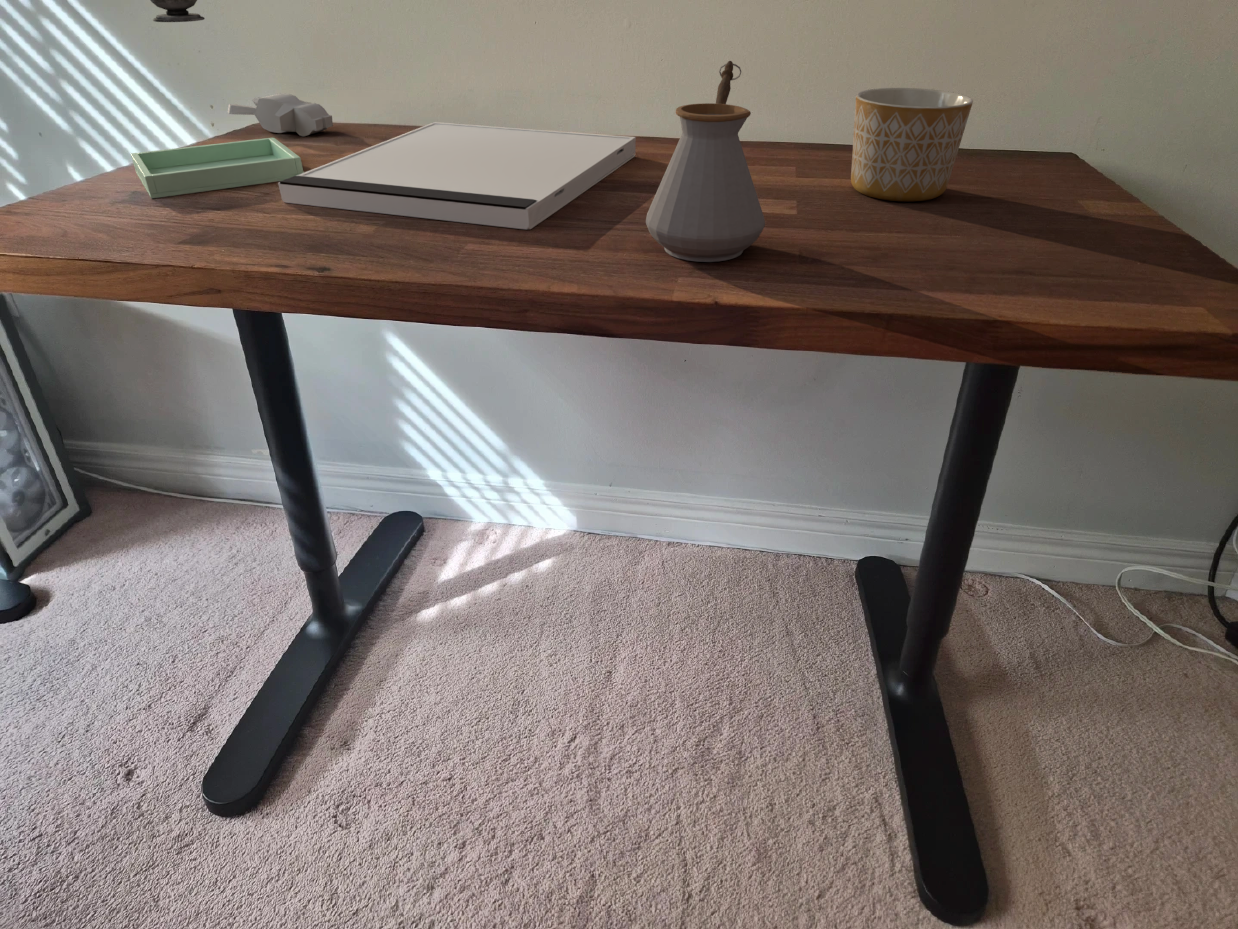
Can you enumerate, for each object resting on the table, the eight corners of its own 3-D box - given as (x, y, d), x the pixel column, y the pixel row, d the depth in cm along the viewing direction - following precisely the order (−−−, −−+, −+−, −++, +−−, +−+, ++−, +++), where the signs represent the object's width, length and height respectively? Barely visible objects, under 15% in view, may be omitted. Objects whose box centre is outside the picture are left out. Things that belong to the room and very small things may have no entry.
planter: (964, 186, 101) (985, 93, 95) (935, 212, 92) (955, 111, 86) (863, 172, 107) (877, 84, 101) (826, 194, 98) (839, 99, 92)
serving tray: (151, 198, 96) (144, 176, 95) (136, 173, 106) (130, 153, 105) (304, 177, 104) (300, 157, 103) (278, 156, 114) (273, 137, 113)
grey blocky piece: (301, 111, 120) (217, 92, 123) (305, 148, 122) (223, 128, 126) (342, 100, 127) (262, 82, 131) (345, 135, 130) (266, 116, 133)
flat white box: (527, 206, 85) (277, 180, 94) (529, 230, 87) (282, 202, 95) (635, 136, 113) (434, 121, 121) (635, 155, 114) (436, 139, 123)
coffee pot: (757, 273, 76) (774, 96, 68) (634, 264, 78) (636, 91, 70) (772, 208, 93) (787, 61, 85) (671, 202, 95) (676, 57, 87)
